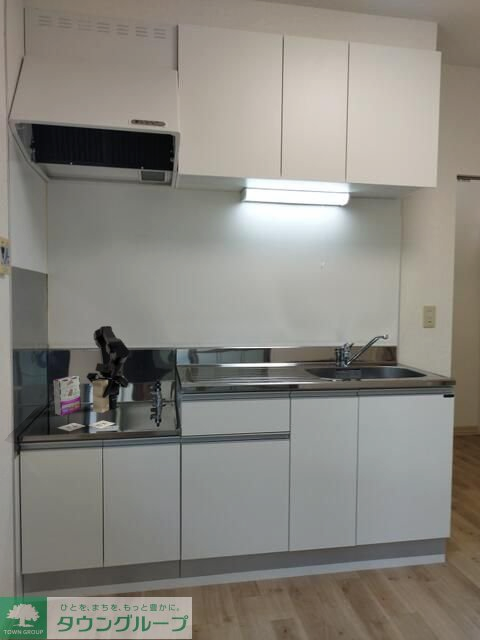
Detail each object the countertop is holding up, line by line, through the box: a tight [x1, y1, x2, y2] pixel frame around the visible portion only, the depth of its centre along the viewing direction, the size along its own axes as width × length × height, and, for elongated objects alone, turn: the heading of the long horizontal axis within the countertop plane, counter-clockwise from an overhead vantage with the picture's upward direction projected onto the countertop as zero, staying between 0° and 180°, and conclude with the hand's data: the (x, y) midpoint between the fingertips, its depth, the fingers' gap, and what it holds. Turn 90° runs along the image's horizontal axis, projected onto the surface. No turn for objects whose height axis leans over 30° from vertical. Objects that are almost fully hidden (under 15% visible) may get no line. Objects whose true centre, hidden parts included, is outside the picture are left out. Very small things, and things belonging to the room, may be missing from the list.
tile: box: [57, 422, 85, 432], centre depth 190 cm, size 8×8×1 cm
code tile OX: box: [88, 420, 116, 430], centre depth 194 cm, size 8×8×1 cm
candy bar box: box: [53, 375, 82, 417], centre depth 211 cm, size 11×5×16 cm, turn 148°
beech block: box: [91, 379, 110, 414], centre depth 193 cm, size 4×4×13 cm
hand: (98, 396), depth 191 cm, fingers closed on beech block, 4 cm apart
